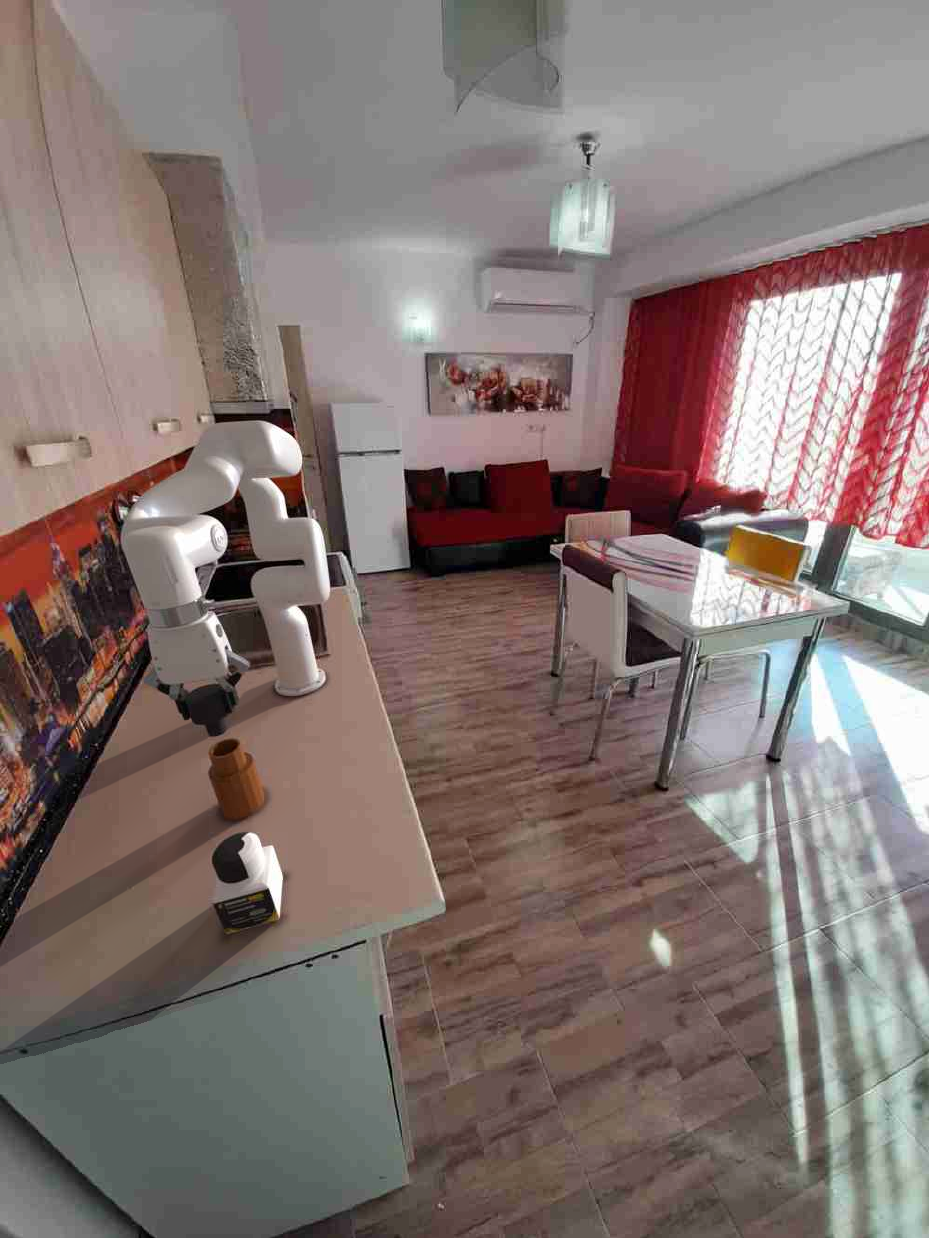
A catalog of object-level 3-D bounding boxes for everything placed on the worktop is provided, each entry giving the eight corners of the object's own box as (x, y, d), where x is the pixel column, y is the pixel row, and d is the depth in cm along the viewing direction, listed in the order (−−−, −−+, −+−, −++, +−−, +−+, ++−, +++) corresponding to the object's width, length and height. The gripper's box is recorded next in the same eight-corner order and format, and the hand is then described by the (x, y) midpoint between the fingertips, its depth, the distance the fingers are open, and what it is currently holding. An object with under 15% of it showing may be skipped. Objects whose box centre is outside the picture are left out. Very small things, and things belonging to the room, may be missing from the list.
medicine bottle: (225, 935, 65) (200, 877, 60) (234, 889, 71) (211, 832, 66) (279, 920, 67) (259, 861, 61) (283, 876, 73) (265, 819, 68)
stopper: (204, 723, 81) (191, 686, 78) (240, 717, 82) (229, 681, 79) (193, 745, 76) (178, 707, 73) (232, 739, 77) (220, 700, 74)
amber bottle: (227, 792, 89) (208, 738, 84) (267, 785, 90) (250, 731, 85) (217, 823, 83) (195, 766, 77) (260, 814, 84) (242, 758, 78)
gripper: (244, 595, 75) (270, 691, 82) (125, 609, 72) (163, 707, 80) (233, 613, 68) (262, 716, 76) (101, 630, 65) (145, 735, 73)
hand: (211, 710), depth 78 cm, fingers closed on stopper, 6 cm apart
